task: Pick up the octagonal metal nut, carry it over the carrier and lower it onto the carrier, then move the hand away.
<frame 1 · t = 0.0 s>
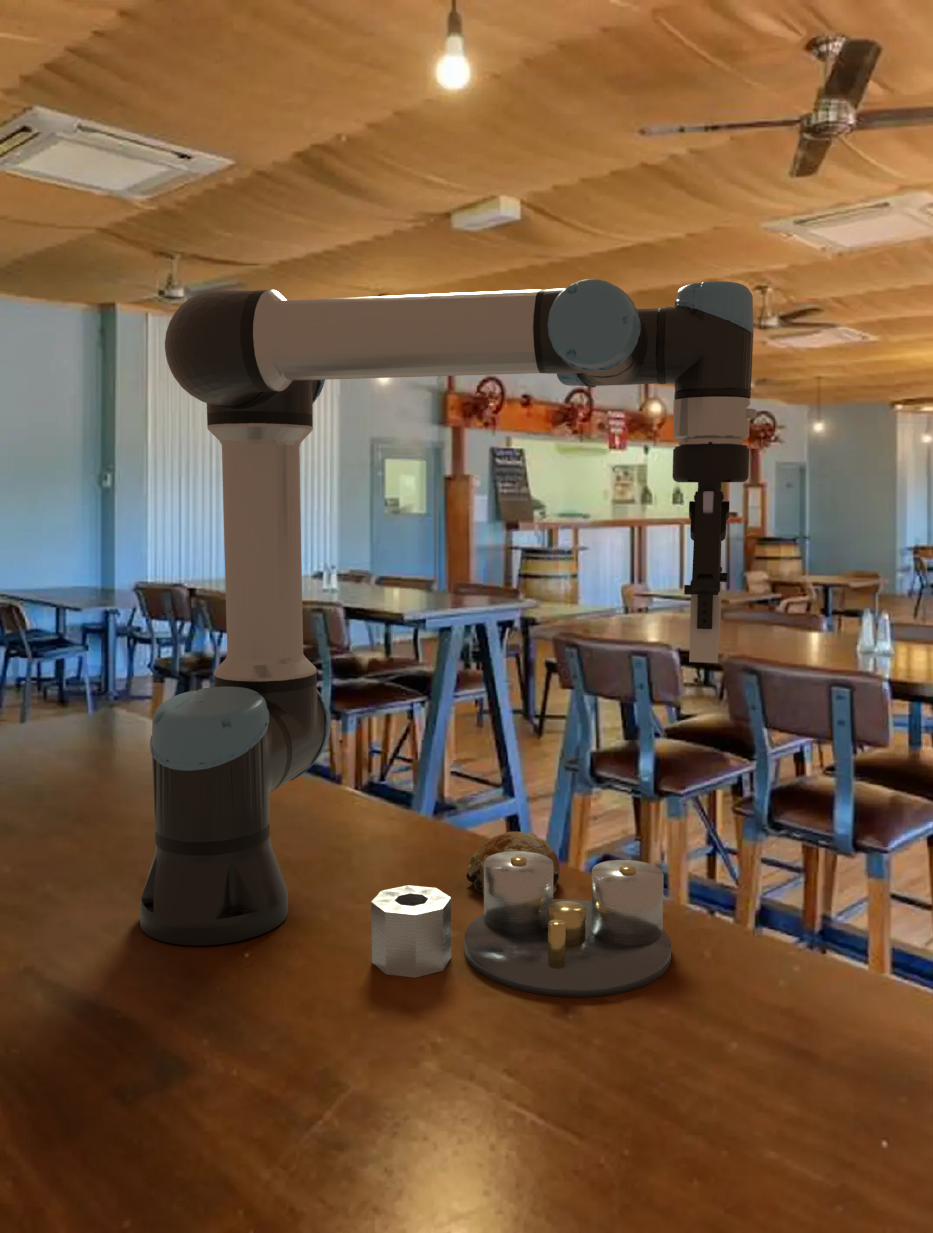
hand: (705, 652, 111), 28 cm above the table, fingers open, 13 cm apart
carrier: (566, 949, 105), on the table
octagonal metal nut: (411, 959, 103), on the table
bread roll: (512, 888, 123), on the table
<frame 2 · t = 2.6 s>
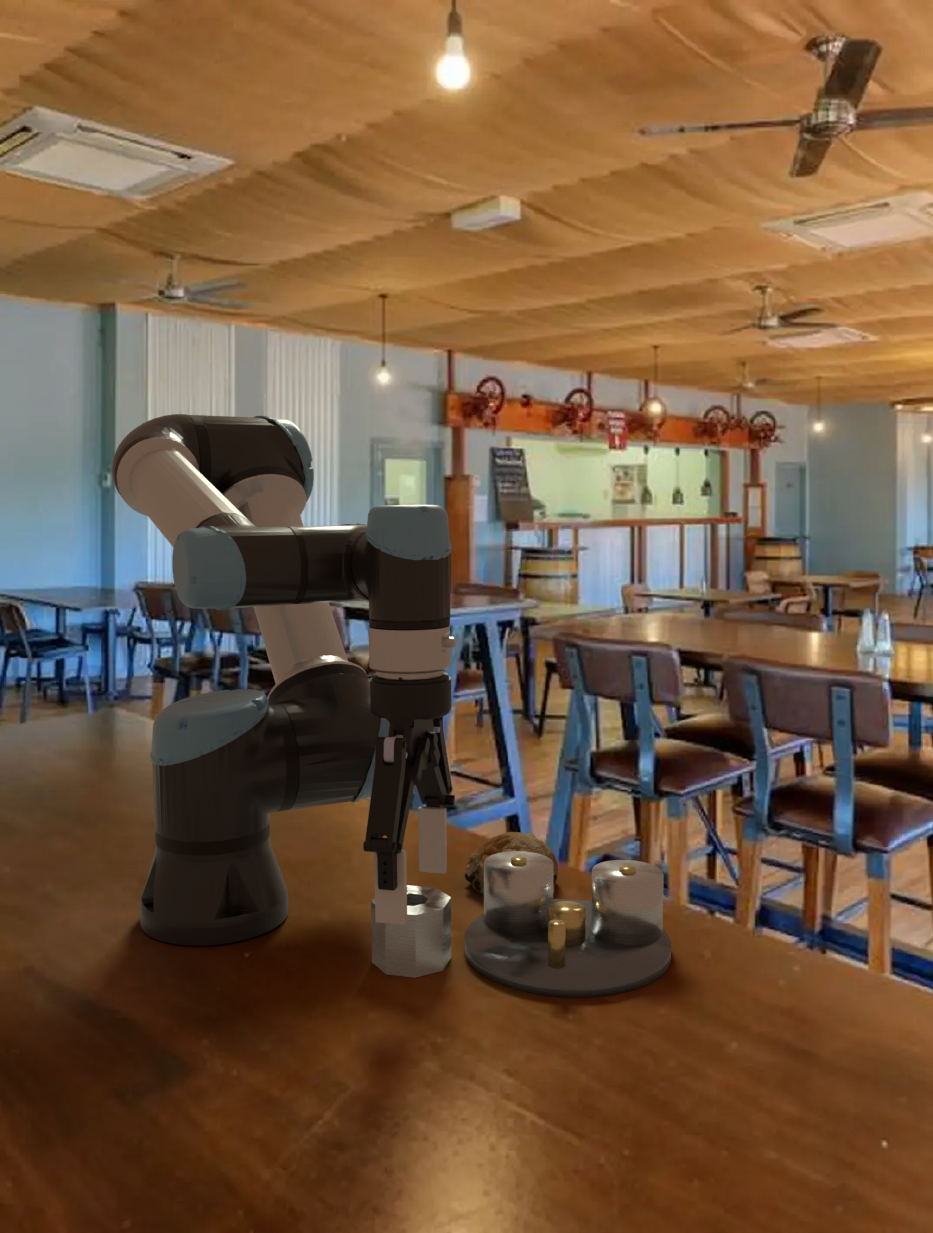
hand: (413, 895, 102), 7 cm above the table, fingers open, 13 cm apart
nothing on the table moved.
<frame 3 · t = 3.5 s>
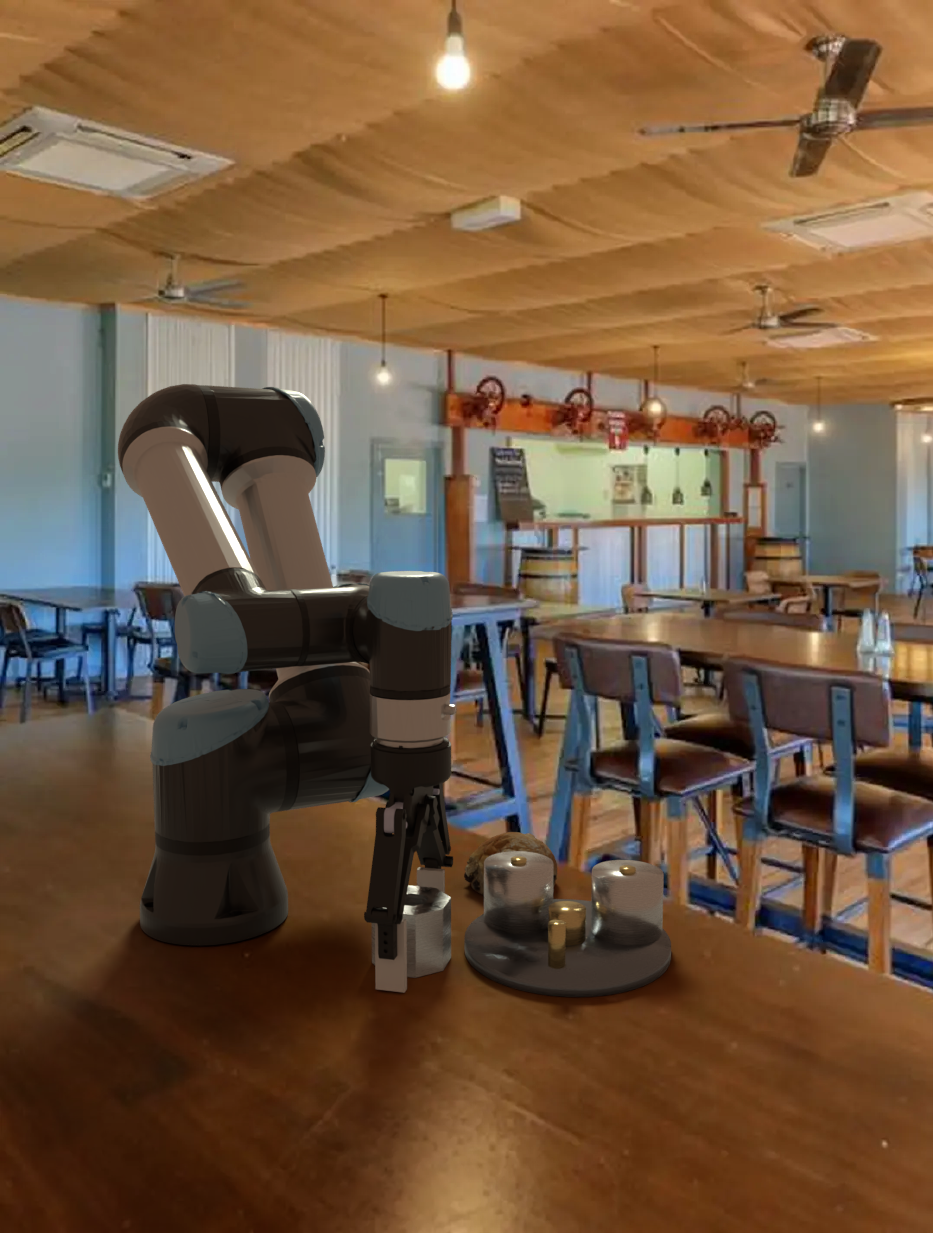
hand: (412, 958, 103), 0 cm above the table, fingers open, 12 cm apart
nothing on the table moved.
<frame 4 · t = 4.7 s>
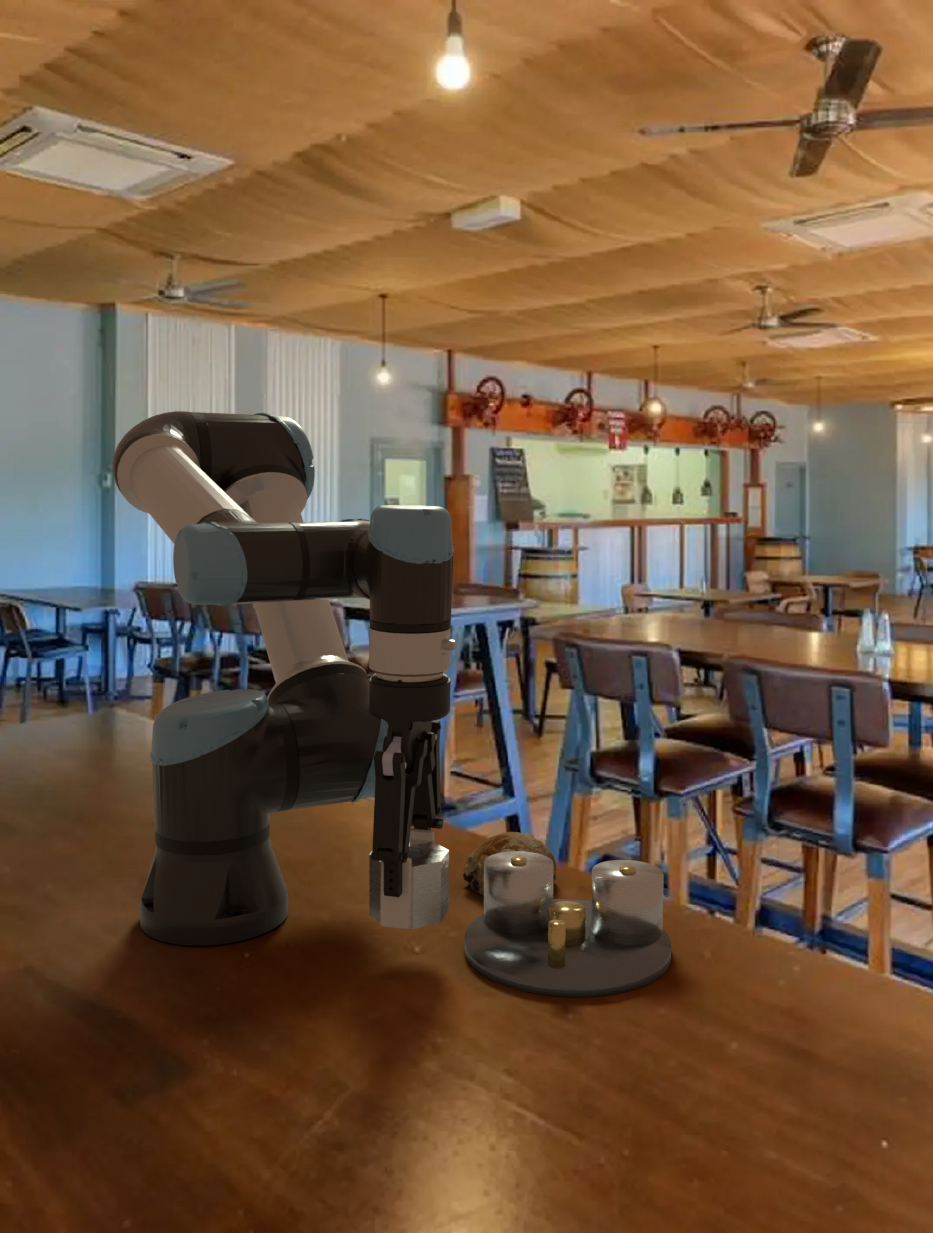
hand: (407, 908, 103), 5 cm above the table, fingers closed on octagonal metal nut, 7 cm apart
octagonal metal nut: (409, 912, 103), point 4 cm above the table, touching gripper
everything else where it was.
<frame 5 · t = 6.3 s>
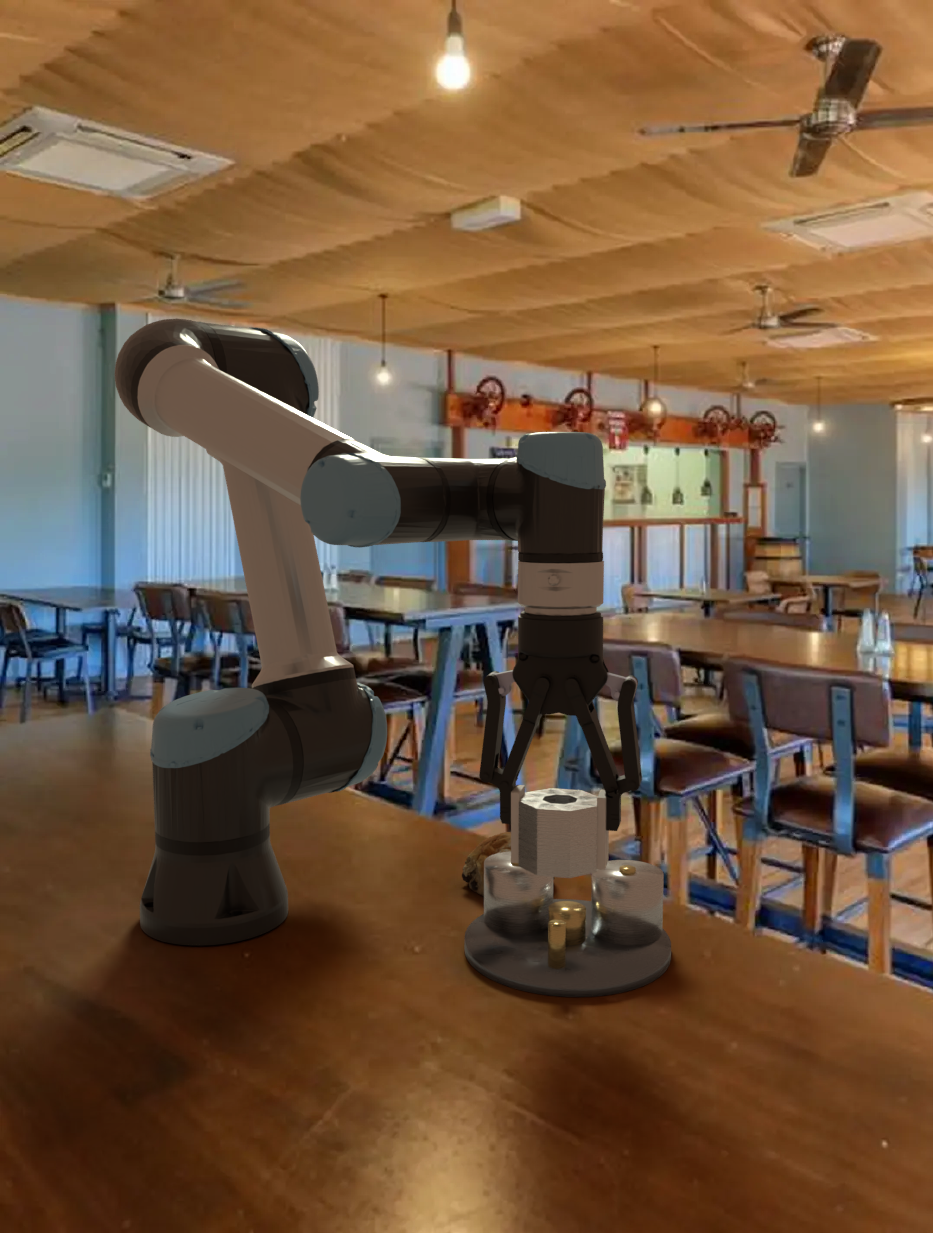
hand: (559, 860, 98), 11 cm above the table, fingers closed on octagonal metal nut, 7 cm apart
octagonal metal nut: (559, 863, 98), point 11 cm above the table, touching gripper
everything else where it was.
when the fingers open (2 cm above the table, at t = 8.1 s): octagonal metal nut stays where it is, resting on carrier.
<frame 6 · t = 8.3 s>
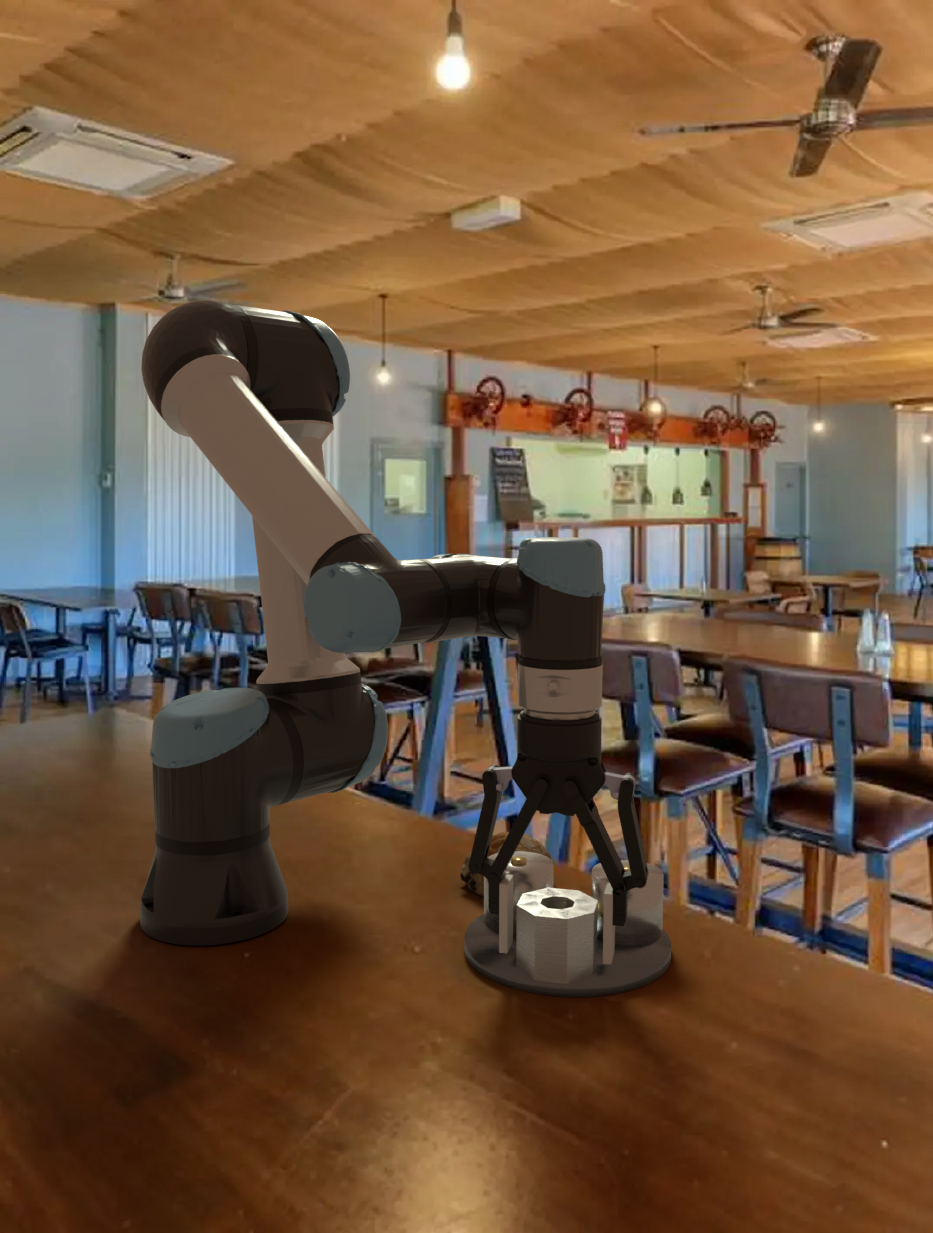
hand: (556, 952, 99), 2 cm above the table, fingers open, 9 cm apart
octagonal metal nut: (556, 965, 99), point 1 cm above the table, touching carrier
everything else where it was.
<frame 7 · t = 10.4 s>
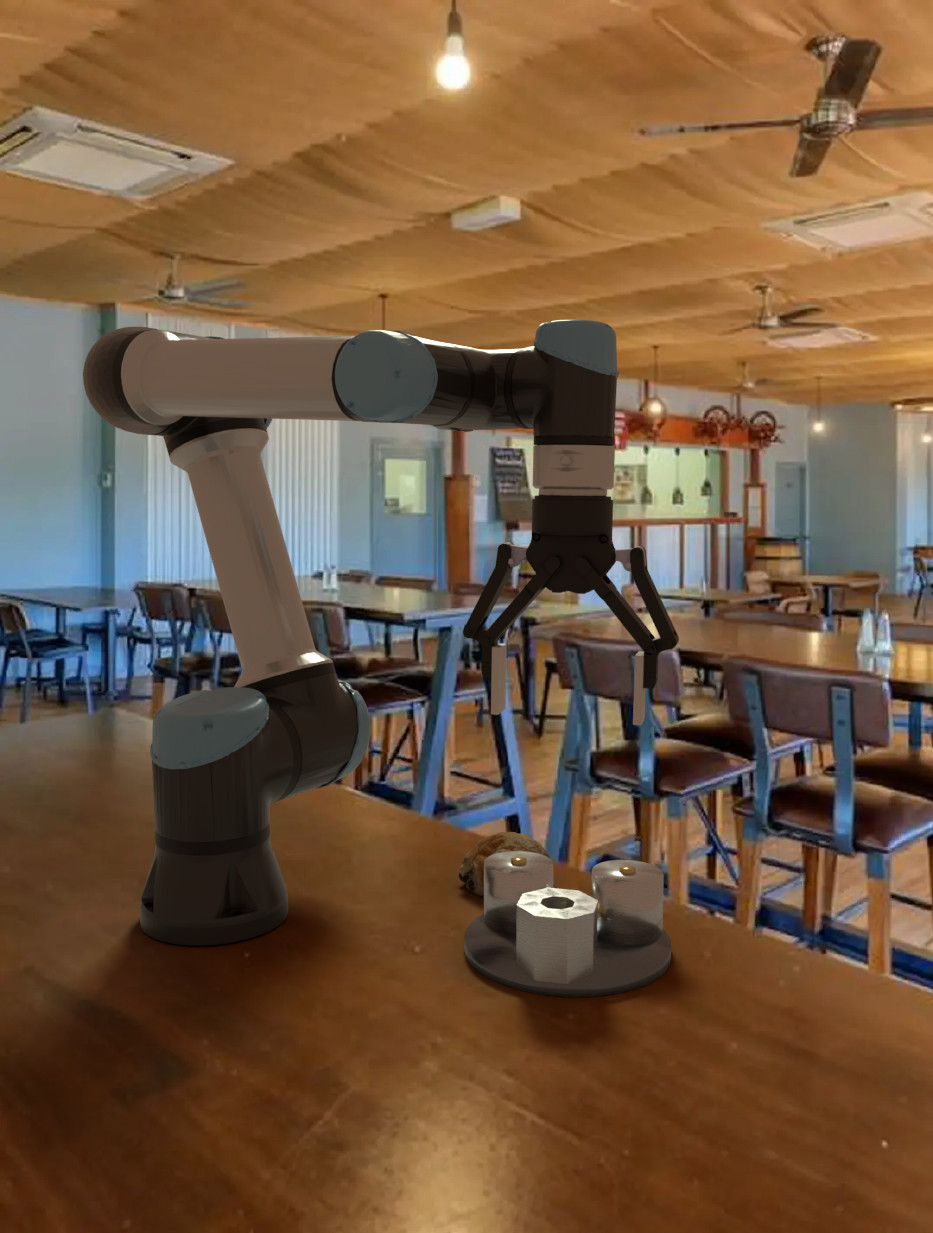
hand: (567, 717, 103), 23 cm above the table, fingers open, 13 cm apart
nothing on the table moved.
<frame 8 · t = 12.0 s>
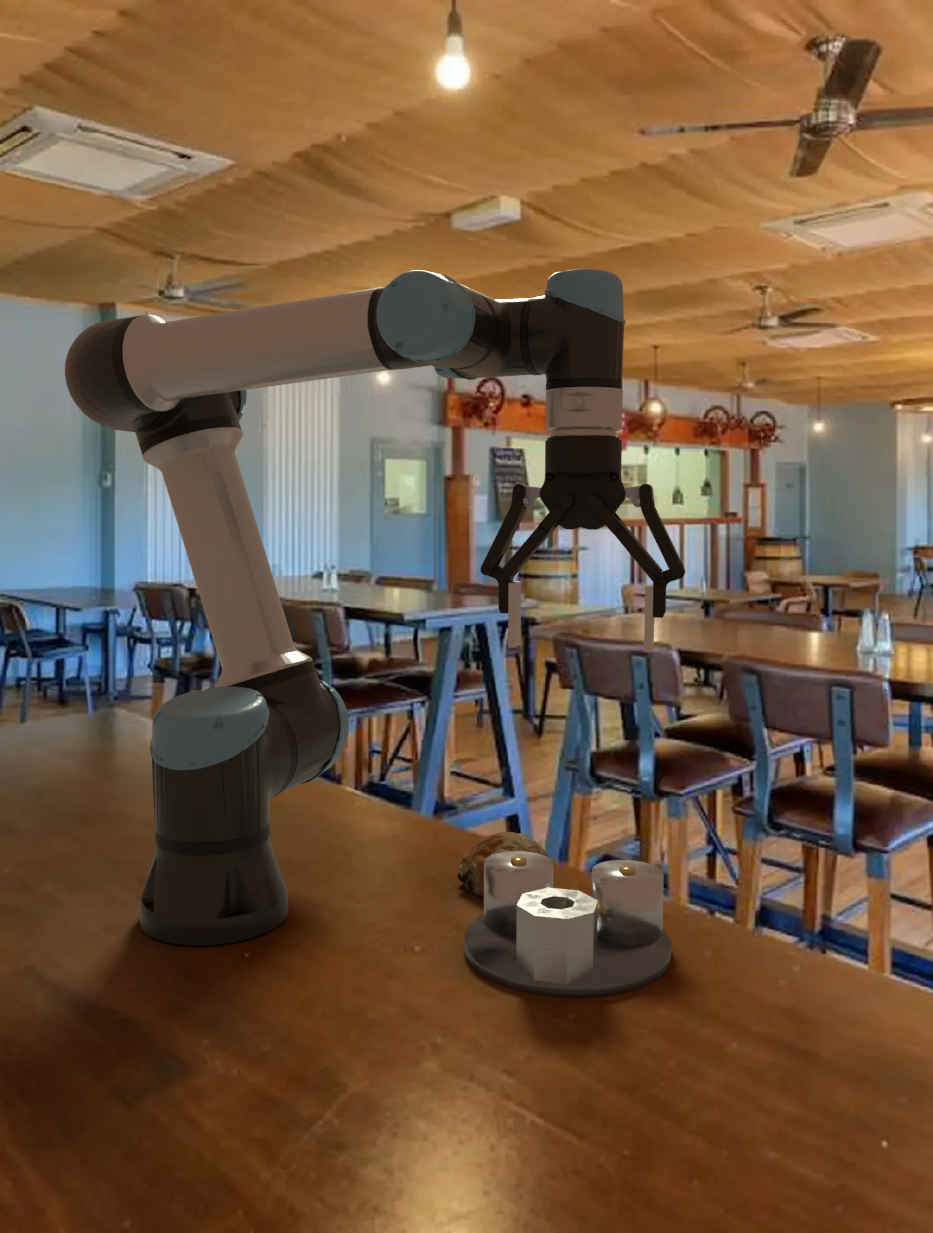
hand: (580, 648, 109), 29 cm above the table, fingers open, 13 cm apart
nothing on the table moved.
at the end: octagonal metal nut 0.1 cm from the target spot on the carrier, point 1.2 cm above the carrier's base; octagonal metal nut tilted 0°; the gripper is holding nothing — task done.
